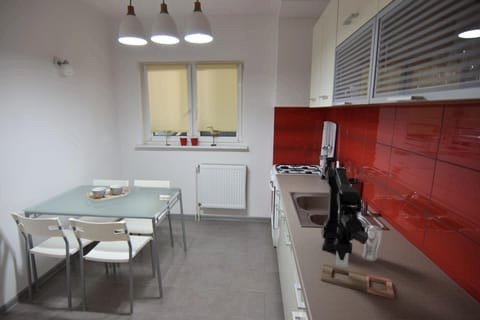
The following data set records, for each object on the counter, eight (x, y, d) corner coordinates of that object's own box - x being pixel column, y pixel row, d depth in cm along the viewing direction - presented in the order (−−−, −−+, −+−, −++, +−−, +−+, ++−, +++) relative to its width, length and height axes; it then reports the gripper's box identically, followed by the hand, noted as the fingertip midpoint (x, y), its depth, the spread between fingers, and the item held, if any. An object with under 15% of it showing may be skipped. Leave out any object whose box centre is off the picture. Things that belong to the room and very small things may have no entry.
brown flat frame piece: (323, 266, 117) (323, 264, 117) (390, 282, 107) (391, 279, 107) (320, 279, 108) (321, 277, 108) (393, 298, 98) (394, 296, 98)
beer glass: (358, 257, 125) (362, 227, 121) (365, 252, 129) (369, 223, 126) (373, 264, 119) (378, 233, 116) (380, 258, 124) (384, 228, 121)
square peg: (336, 258, 111) (337, 241, 110) (347, 261, 110) (349, 243, 108) (335, 264, 107) (337, 246, 106) (347, 267, 106) (349, 248, 104)
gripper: (369, 236, 93) (364, 275, 96) (367, 215, 110) (363, 250, 113) (335, 229, 97) (332, 267, 101) (338, 211, 114) (335, 244, 117)
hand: (342, 256), depth 108 cm, fingers closed on square peg, 4 cm apart
